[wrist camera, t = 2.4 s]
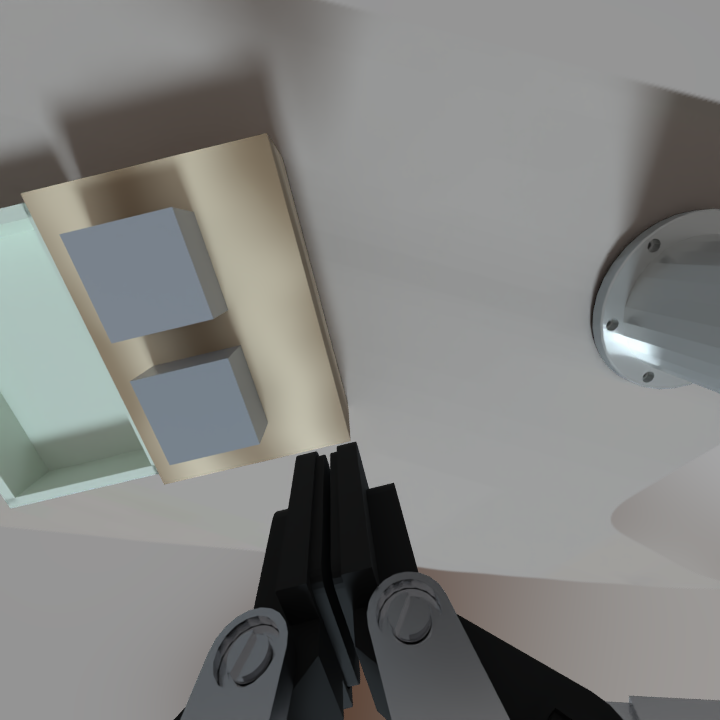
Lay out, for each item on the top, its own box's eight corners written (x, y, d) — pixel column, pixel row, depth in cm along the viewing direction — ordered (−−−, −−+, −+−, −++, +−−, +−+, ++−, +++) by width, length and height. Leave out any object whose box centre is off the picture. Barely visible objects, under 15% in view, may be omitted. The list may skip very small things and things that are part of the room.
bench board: (282, 158, 21) (266, 133, 16) (348, 405, 27) (350, 440, 22) (91, 205, 21) (20, 193, 17) (194, 441, 27) (164, 484, 22)
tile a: (240, 344, 19) (227, 358, 17) (268, 422, 21) (259, 444, 19) (153, 365, 20) (129, 381, 17) (187, 441, 21) (169, 465, 19)
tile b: (193, 211, 17) (171, 206, 15) (228, 310, 19) (213, 319, 17) (95, 235, 17) (59, 234, 15) (138, 331, 19) (111, 343, 17)
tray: (81, 207, 21) (34, 200, 18) (187, 443, 27) (166, 472, 23) (-89, 248, 21) (-167, 249, 18) (51, 475, 27) (10, 508, 23)
